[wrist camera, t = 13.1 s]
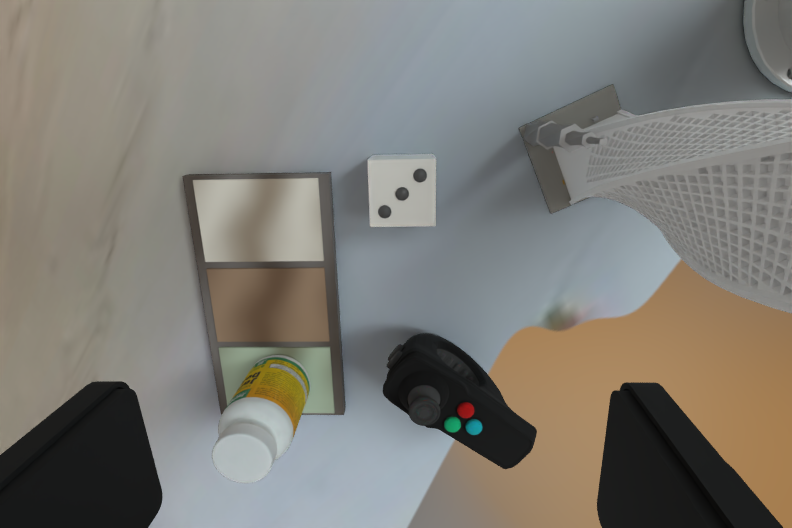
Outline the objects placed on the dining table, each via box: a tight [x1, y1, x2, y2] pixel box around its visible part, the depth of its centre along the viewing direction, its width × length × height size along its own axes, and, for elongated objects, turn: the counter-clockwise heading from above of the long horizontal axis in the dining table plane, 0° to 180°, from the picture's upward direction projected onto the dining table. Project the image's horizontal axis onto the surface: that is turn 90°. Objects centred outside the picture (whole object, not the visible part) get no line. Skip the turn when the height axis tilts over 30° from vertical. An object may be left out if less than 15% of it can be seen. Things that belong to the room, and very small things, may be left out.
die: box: [367, 154, 436, 227], centre depth 32 cm, size 4×4×5 cm
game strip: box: [183, 172, 345, 415], centre depth 37 cm, size 11×21×1 cm, turn 1°
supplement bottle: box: [212, 355, 310, 483], centre depth 34 cm, size 5×5×10 cm
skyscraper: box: [519, 84, 792, 313], centre depth 20 cm, size 8×8×28 cm
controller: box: [383, 334, 537, 469], centre depth 34 cm, size 4×12×10 cm, turn 54°
